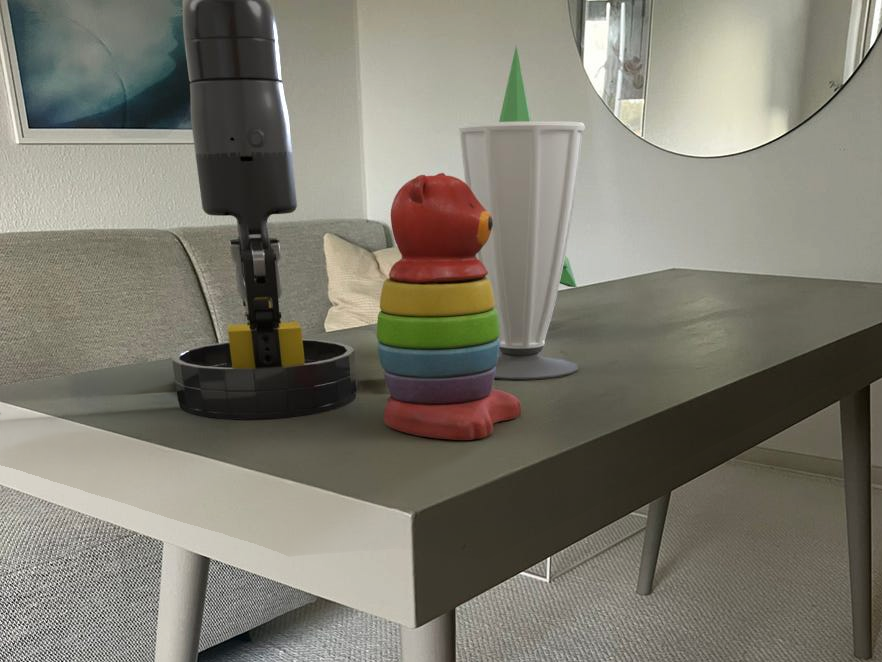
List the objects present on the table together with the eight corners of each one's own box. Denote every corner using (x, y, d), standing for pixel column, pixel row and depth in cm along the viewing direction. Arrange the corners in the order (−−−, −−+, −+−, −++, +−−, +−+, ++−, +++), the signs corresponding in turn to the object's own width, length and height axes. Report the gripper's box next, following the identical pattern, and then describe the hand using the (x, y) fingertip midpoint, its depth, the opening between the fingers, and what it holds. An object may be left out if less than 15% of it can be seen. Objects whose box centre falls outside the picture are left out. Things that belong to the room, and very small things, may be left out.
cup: (592, 377, 94) (602, 120, 84) (473, 383, 92) (470, 121, 83) (561, 356, 104) (567, 125, 95) (454, 361, 102) (448, 126, 93)
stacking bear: (480, 443, 72) (476, 172, 64) (356, 433, 75) (339, 174, 67) (528, 412, 81) (530, 171, 73) (415, 403, 84) (406, 173, 76)
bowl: (177, 424, 78) (169, 373, 76) (181, 388, 92) (175, 343, 90) (367, 412, 81) (364, 362, 80) (344, 378, 95) (341, 335, 93)
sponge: (234, 380, 83) (228, 331, 81) (233, 372, 87) (227, 324, 85) (305, 376, 84) (301, 327, 83) (301, 368, 88) (297, 321, 86)
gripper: (195, 151, 83) (222, 359, 91) (193, 147, 71) (225, 388, 78) (285, 149, 85) (304, 354, 92) (298, 145, 73) (319, 382, 80)
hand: (267, 368), depth 85 cm, fingers closed on sponge, 4 cm apart
